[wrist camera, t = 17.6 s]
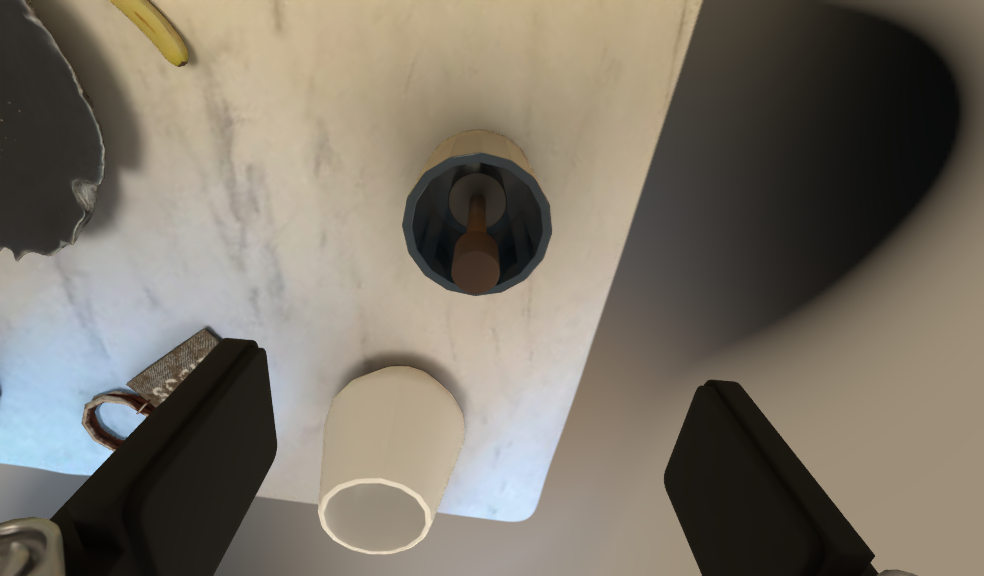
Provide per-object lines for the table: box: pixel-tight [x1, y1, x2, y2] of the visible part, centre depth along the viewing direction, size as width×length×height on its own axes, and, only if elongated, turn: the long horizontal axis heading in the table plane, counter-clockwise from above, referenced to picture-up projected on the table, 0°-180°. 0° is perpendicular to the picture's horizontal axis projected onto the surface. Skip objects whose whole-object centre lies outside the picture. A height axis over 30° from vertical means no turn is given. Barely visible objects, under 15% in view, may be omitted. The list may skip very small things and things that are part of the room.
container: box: [402, 130, 552, 296], centre depth 34 cm, size 9×9×11 cm
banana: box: [109, 0, 188, 67], centre depth 31 cm, size 8×2×4 cm, turn 40°
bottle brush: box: [448, 163, 507, 294], centre depth 31 cm, size 4×4×17 cm
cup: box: [318, 366, 464, 554], centre depth 42 cm, size 13×13×14 cm
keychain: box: [82, 329, 219, 451], centre depth 46 cm, size 8×19×2 cm, turn 124°
